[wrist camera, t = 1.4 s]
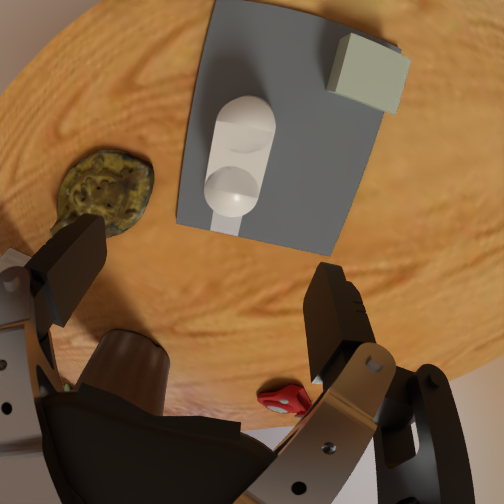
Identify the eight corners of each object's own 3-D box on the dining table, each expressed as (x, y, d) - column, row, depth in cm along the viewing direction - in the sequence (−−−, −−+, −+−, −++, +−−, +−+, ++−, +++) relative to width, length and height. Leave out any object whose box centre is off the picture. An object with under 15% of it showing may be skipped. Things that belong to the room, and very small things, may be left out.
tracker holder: (251, 407, 48) (260, 397, 41) (258, 388, 51) (269, 373, 44) (309, 425, 47) (330, 417, 40) (315, 405, 50) (335, 393, 43)
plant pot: (192, 383, 46) (177, 466, 33) (115, 373, 47) (90, 443, 34) (168, 323, 37) (136, 430, 24) (78, 315, 38) (34, 397, 25)
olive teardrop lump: (133, 121, 24) (50, 193, 28) (108, 125, 20) (25, 206, 24) (177, 200, 27) (86, 254, 32) (159, 217, 23) (66, 274, 27)
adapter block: (339, 39, 17) (351, 32, 14) (393, 60, 18) (411, 59, 15) (325, 90, 20) (335, 91, 17) (379, 110, 20) (395, 115, 18)
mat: (218, -1, 16) (217, -3, 16) (398, 49, 17) (401, 49, 17) (177, 220, 28) (176, 223, 28) (329, 253, 30) (330, 256, 29)
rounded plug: (231, 90, 21) (221, 92, 16) (278, 100, 21) (282, 104, 17) (208, 211, 27) (196, 238, 23) (249, 220, 27) (245, 248, 23)
